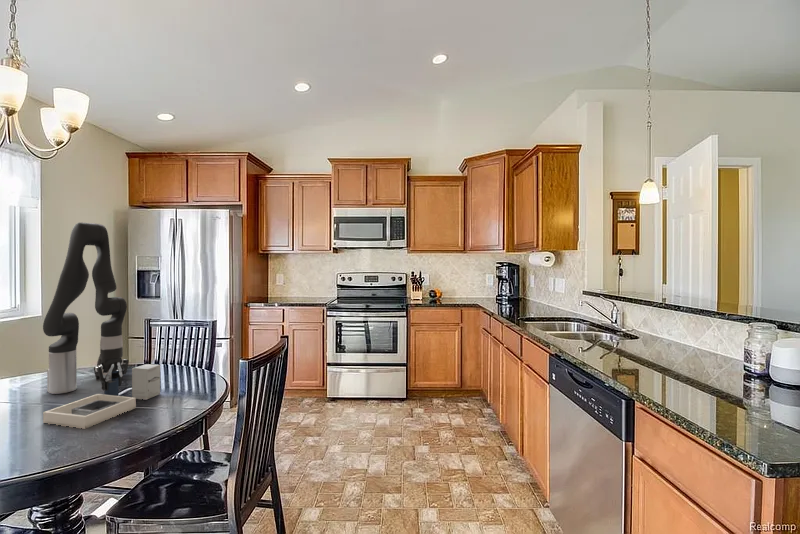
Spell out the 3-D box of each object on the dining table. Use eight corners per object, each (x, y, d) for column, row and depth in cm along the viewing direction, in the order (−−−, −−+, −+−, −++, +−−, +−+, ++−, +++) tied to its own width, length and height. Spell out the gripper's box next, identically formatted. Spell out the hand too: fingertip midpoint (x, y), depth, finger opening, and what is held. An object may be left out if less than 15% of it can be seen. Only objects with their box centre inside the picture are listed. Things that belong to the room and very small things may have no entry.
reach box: (43, 423, 143) (43, 412, 143) (97, 403, 162) (97, 393, 162) (84, 429, 139) (84, 417, 138) (135, 408, 158) (135, 397, 158)
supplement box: (146, 400, 167) (146, 369, 167) (131, 398, 168) (131, 368, 168) (160, 394, 174) (160, 364, 174) (145, 393, 176) (145, 363, 175)
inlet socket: (71, 417, 146) (71, 409, 146) (98, 407, 156) (98, 399, 156) (94, 420, 144) (94, 411, 144) (119, 410, 154) (119, 402, 154)
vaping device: (120, 397, 170) (120, 368, 170) (107, 401, 165) (107, 371, 165) (115, 396, 171) (115, 367, 171) (102, 400, 166) (102, 370, 166)
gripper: (119, 342, 175) (119, 382, 176) (87, 349, 161) (87, 393, 162) (134, 343, 174) (134, 383, 174) (102, 350, 160) (102, 394, 160)
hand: (111, 388), depth 168 cm, fingers closed on vaping device, 5 cm apart
